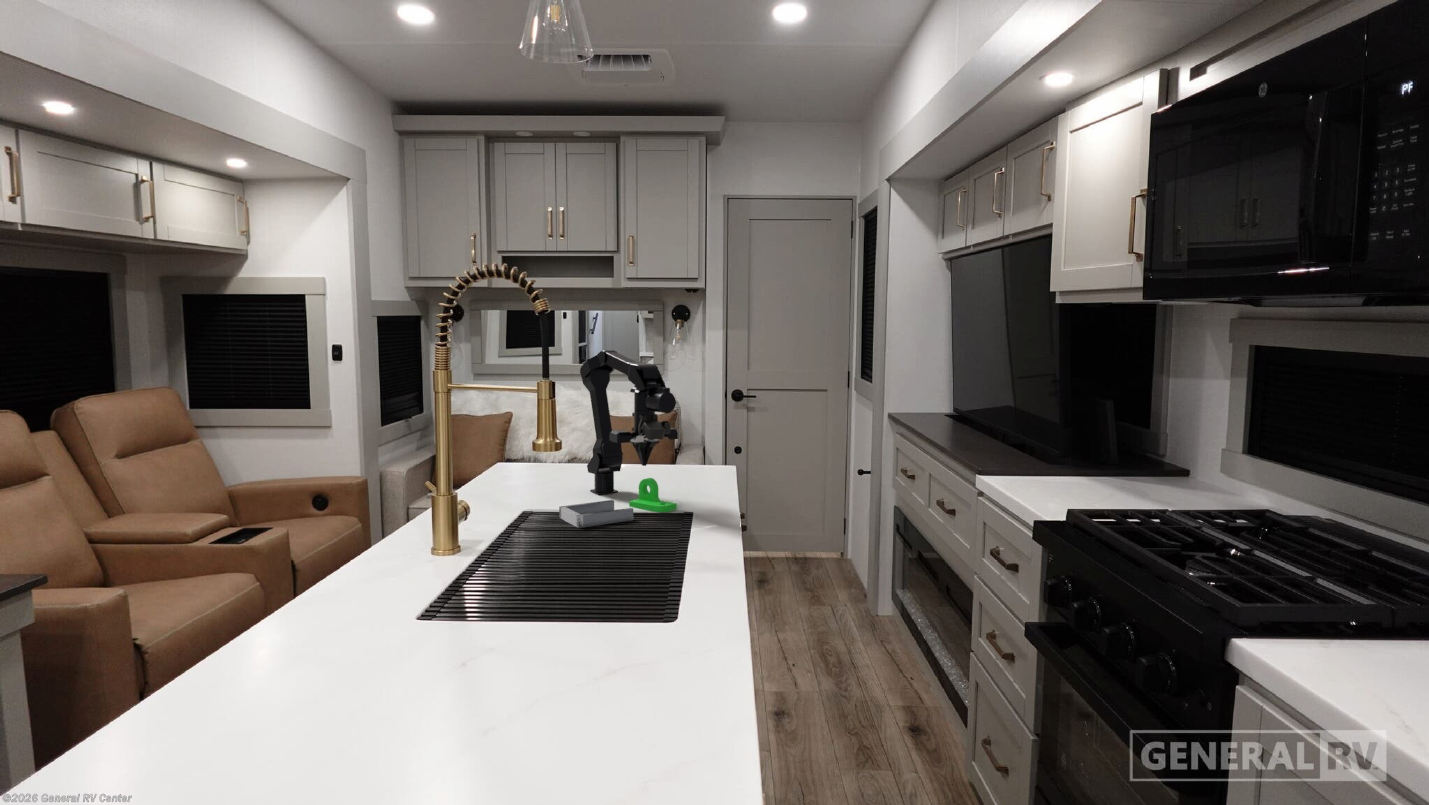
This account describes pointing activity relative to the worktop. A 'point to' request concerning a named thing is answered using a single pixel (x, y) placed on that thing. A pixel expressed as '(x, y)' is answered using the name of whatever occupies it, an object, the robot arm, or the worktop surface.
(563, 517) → the seating bracket
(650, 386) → the robot arm
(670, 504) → the mechanical part
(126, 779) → the worktop surface
